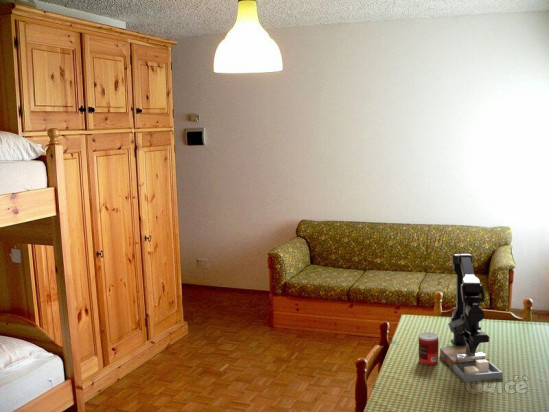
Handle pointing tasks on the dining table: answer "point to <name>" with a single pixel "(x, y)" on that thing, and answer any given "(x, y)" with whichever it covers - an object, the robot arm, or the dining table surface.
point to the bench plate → (451, 353)
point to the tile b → (482, 365)
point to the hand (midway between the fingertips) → (470, 351)
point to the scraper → (469, 355)
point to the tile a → (471, 370)
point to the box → (492, 374)
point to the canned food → (428, 348)
